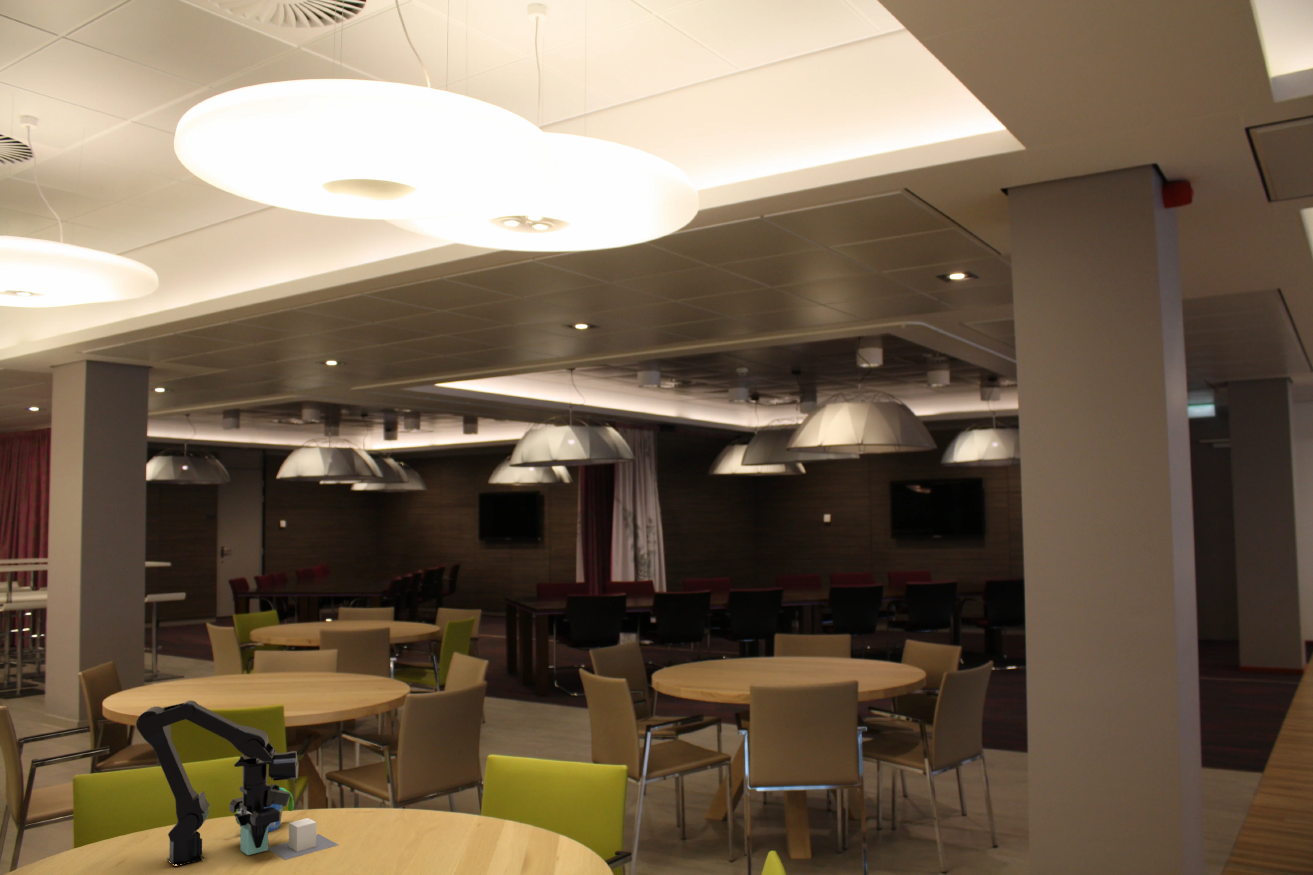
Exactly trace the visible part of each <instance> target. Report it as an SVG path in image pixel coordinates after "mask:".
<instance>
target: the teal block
mask: <svg viewBox="0 0 1313 875" xmlns="http://www.w3.org/2000/svg"><path fill="white" fill-rule="evenodd" d="M268 847H269V832H268V826H267V829H266V832H265V835H264V838H263V841H262V844H261V847H260V848H256V847H255V844H254V841H253V839H252V836H251V833H250V830H249V827H248V825H243V826H241V827H240V851H241V852H242V853H243V854H245V855H247V856H250V855H254V854H258V853H262V852H266V851H269V850H268Z"/></svg>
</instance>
